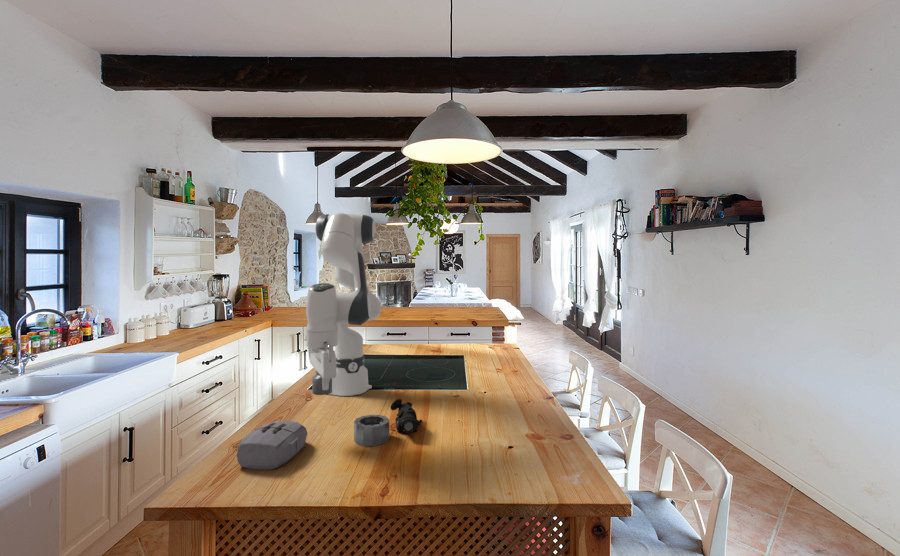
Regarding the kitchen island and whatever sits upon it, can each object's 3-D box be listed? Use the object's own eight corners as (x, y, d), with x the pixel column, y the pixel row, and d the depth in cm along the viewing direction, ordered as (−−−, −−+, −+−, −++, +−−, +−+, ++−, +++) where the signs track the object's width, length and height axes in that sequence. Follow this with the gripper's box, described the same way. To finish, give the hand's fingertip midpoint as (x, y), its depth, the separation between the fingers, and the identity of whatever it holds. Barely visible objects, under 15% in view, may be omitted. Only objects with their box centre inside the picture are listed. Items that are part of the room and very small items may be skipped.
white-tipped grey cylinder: (310, 390, 132) (310, 374, 132) (329, 388, 135) (329, 372, 134) (314, 396, 127) (314, 379, 127) (334, 393, 130) (334, 377, 129)
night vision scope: (410, 448, 131) (384, 428, 130) (406, 427, 149) (383, 409, 147) (427, 427, 132) (401, 407, 130) (421, 408, 149) (398, 390, 148)
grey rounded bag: (283, 473, 111) (317, 441, 131) (283, 440, 111) (317, 413, 131) (227, 469, 113) (269, 438, 133) (226, 437, 113) (268, 410, 132)
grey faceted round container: (350, 436, 134) (350, 418, 134) (382, 430, 139) (382, 412, 139) (360, 448, 125) (360, 429, 125) (393, 441, 130) (393, 423, 130)
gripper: (342, 345, 122) (342, 394, 123) (325, 333, 140) (325, 376, 141) (318, 347, 119) (318, 398, 120) (304, 334, 137) (304, 378, 138)
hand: (322, 386), depth 131 cm, fingers closed on white-tipped grey cylinder, 6 cm apart
